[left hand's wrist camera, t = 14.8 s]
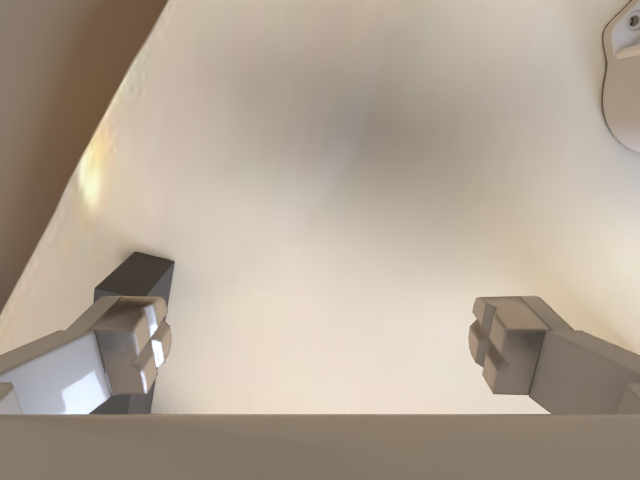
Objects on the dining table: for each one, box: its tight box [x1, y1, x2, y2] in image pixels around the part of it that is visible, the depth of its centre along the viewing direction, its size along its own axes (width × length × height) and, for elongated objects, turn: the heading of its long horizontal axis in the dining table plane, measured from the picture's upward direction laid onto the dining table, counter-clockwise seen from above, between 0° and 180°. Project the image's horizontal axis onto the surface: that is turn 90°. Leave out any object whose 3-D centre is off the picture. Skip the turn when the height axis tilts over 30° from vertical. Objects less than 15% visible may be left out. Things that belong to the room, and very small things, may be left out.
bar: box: [89, 252, 174, 414], centre depth 46 cm, size 27×5×9 cm, turn 164°
